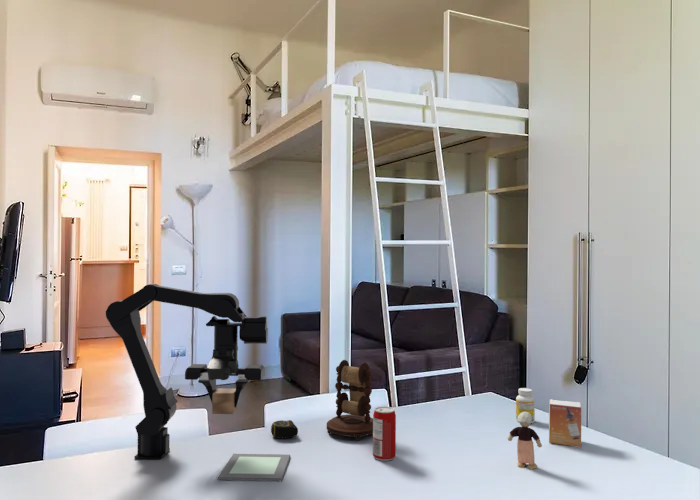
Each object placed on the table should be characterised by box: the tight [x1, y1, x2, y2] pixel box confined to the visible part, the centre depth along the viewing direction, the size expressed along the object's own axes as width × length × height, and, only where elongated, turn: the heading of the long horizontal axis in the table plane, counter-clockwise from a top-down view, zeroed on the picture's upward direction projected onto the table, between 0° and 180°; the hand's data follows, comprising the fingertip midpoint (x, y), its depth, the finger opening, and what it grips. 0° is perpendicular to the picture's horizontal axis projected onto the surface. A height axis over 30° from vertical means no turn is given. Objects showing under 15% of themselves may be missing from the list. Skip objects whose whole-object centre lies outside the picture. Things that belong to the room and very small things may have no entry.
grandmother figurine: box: [507, 412, 543, 470], centre depth 124 cm, size 8×4×13 cm, turn 71°
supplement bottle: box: [515, 387, 536, 424], centre depth 159 cm, size 5×5×10 cm
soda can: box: [372, 406, 397, 462], centre depth 129 cm, size 6×6×12 cm
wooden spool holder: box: [326, 359, 373, 442], centre depth 147 cm, size 15×15×20 cm
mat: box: [217, 453, 291, 482], centre depth 122 cm, size 14×14×1 cm
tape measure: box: [270, 419, 299, 439], centre depth 144 cm, size 7×7×4 cm
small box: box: [548, 399, 582, 448], centre depth 141 cm, size 8×6×10 cm
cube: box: [211, 387, 238, 415], centre depth 131 cm, size 5×5×5 cm
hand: (225, 406), depth 131 cm, fingers closed on cube, 5 cm apart
